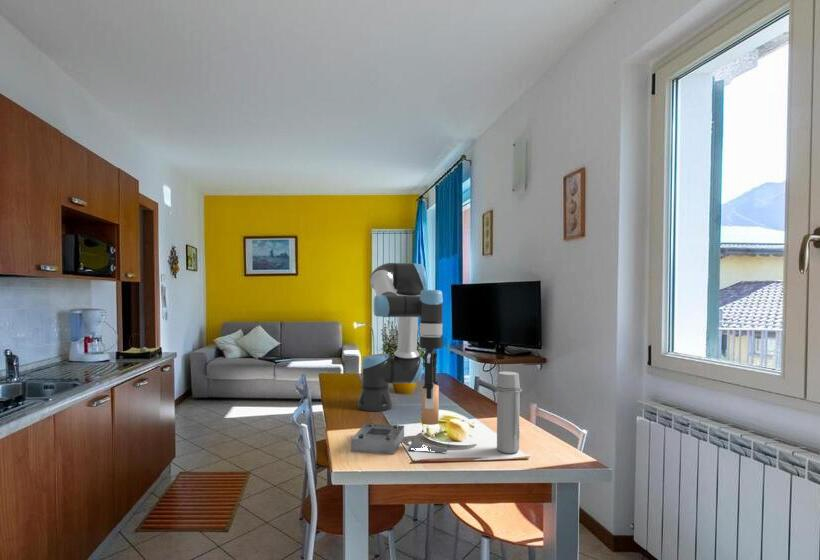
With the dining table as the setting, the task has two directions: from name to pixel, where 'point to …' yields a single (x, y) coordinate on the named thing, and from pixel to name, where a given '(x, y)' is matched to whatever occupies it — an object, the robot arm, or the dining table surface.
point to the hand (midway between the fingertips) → (430, 406)
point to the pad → (417, 444)
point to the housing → (377, 438)
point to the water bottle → (508, 412)
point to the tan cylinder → (431, 414)
